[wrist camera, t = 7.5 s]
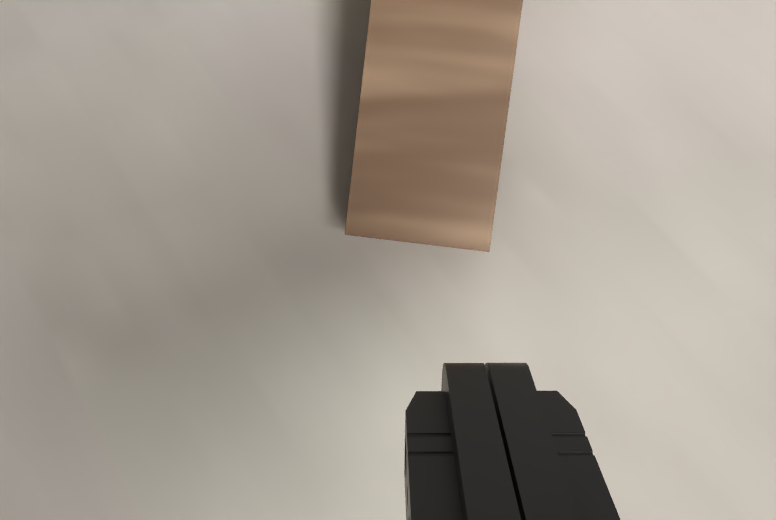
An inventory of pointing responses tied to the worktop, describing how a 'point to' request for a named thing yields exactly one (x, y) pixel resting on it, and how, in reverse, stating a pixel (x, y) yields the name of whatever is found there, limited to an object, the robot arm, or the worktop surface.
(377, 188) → the domino
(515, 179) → the worktop surface
